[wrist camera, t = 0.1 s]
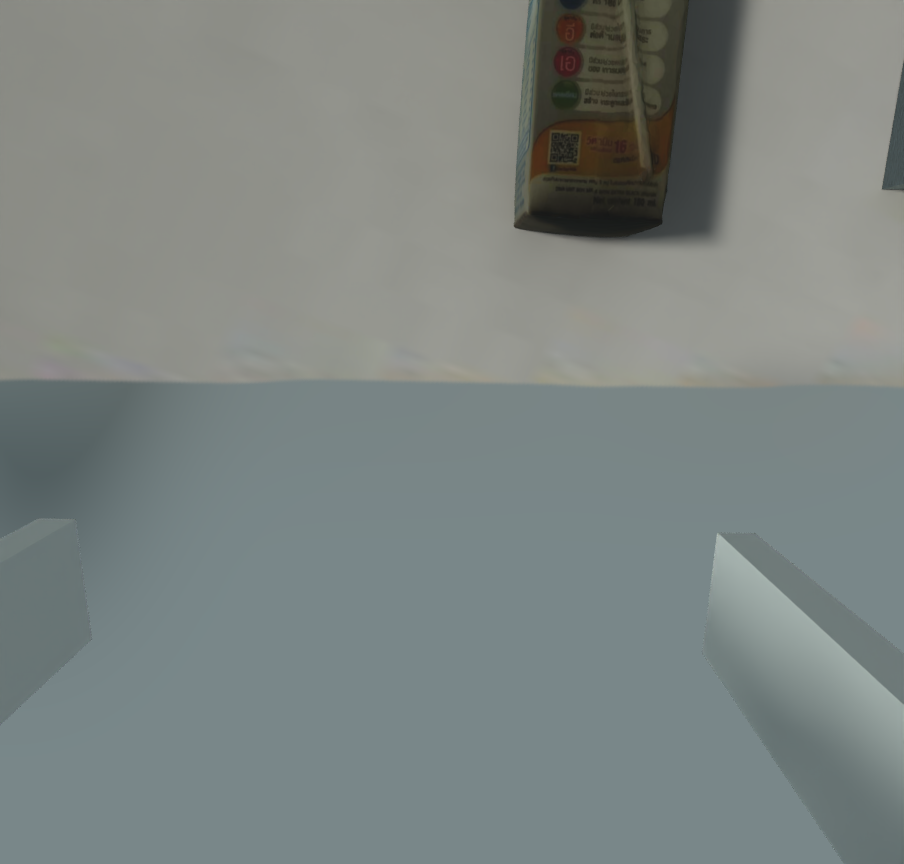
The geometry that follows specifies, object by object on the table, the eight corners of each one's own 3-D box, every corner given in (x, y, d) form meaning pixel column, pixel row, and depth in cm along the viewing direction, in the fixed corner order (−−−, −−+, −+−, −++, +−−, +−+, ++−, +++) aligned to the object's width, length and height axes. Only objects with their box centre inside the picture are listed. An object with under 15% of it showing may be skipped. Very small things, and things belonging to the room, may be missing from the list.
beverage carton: (675, -115, 33) (727, -214, 26) (634, 242, 37) (670, 231, 31) (534, -122, 33) (551, -222, 27) (510, 236, 37) (520, 224, 31)
